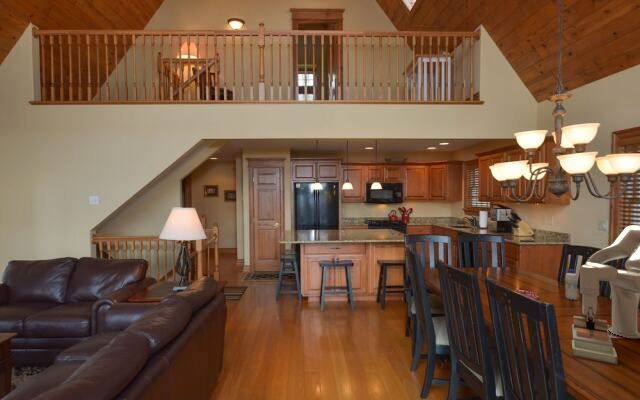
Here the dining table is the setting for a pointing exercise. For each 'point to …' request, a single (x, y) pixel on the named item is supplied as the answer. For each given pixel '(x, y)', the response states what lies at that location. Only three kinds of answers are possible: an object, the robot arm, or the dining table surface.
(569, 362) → the dining table surface
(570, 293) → the bottle
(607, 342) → the bench board
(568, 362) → the dining table surface
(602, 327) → the tan long block
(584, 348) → the box
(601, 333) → the tile
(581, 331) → the tile
